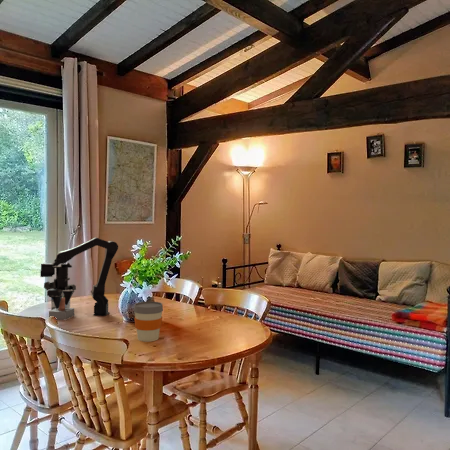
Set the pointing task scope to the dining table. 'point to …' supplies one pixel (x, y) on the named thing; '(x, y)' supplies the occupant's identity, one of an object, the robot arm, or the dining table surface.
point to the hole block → (62, 313)
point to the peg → (62, 304)
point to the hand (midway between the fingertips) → (61, 306)
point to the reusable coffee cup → (148, 320)
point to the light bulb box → (54, 304)
